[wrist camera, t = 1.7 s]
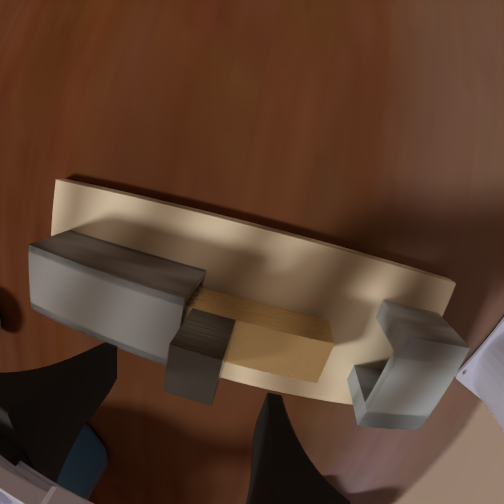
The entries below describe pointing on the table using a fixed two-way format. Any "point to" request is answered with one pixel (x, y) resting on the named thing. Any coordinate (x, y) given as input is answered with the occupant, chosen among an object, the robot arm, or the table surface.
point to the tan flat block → (242, 343)
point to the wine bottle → (84, 464)
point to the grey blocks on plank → (247, 296)
